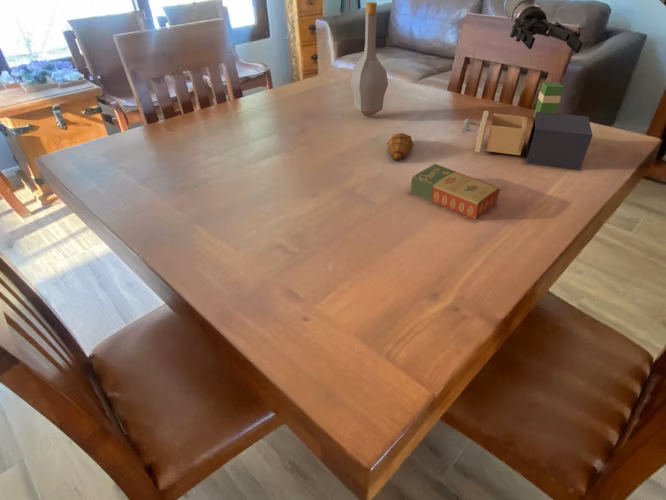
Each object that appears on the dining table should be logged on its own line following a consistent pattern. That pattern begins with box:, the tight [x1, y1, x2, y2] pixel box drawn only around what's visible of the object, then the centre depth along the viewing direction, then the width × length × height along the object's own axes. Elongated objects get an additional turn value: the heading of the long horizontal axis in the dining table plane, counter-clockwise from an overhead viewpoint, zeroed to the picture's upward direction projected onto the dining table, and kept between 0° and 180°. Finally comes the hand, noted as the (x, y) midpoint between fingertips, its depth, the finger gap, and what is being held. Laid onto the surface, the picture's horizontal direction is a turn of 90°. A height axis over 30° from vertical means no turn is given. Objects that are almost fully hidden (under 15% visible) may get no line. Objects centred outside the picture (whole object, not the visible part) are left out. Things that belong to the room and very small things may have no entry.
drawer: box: [460, 110, 529, 156], centre depth 107 cm, size 15×10×7 cm
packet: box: [533, 81, 565, 119], centre depth 121 cm, size 5×4×10 cm
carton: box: [410, 163, 501, 220], centre depth 89 cm, size 8×16×4 cm, turn 44°
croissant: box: [386, 132, 415, 162], centre depth 107 cm, size 14×7×5 cm, turn 167°
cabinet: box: [525, 112, 593, 171], centre depth 102 cm, size 12×12×9 cm
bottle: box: [349, 1, 389, 118], centre depth 120 cm, size 11×11×30 cm
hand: (555, 45), depth 117 cm, fingers open, 13 cm apart
